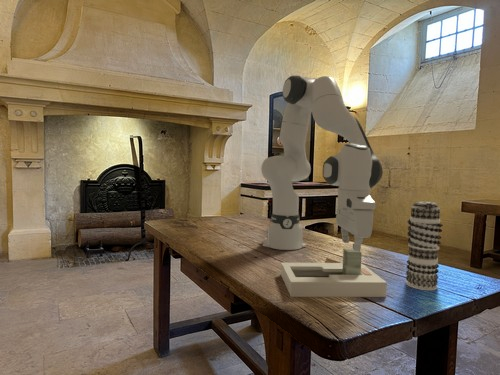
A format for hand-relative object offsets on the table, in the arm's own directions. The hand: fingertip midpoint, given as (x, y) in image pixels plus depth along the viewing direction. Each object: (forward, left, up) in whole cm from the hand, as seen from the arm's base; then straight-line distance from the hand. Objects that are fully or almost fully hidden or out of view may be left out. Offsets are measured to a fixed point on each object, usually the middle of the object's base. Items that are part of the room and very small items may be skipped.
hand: (350, 246), depth 99 cm
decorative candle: (0, +22, -12) cm, 25 cm away
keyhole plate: (0, -6, -12) cm, 13 cm away
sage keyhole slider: (0, +1, -12) cm, 12 cm away
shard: (-19, 0, -12) cm, 22 cm away
